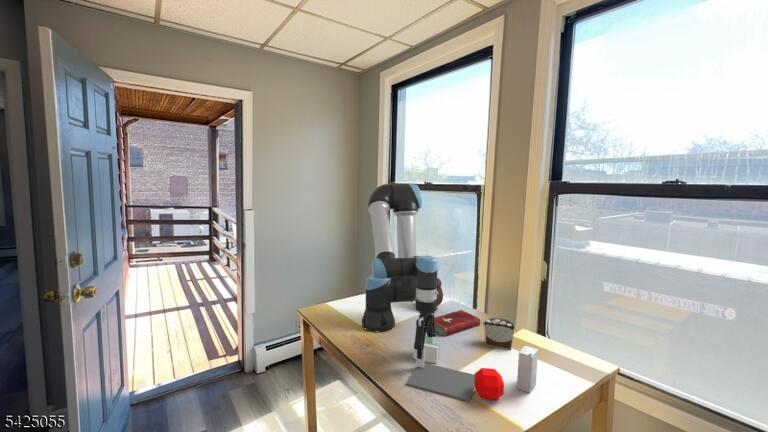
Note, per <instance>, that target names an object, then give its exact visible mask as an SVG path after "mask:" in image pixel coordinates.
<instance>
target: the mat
mask: <svg viewBox="0 0 768 432" xmlns="http://www.w3.org/2000/svg"><path fill="white" fill-rule="evenodd" d="M474 378H475V373H470V372H466V371H461V370H457V369H453V368H448V367H444V366H441V365H440V366H439V365H437V364H436V365H435V364H432V363H431V364H430V363H428V362H427V363H426V362H424V368H421V367H417V366H416V368H415V370H413V372H412V374H411V375H410V377H409V379H407V381H406V384H405V385H406V386H409V387H411V388H412V387H414V388H416V389H419V390H424V391H427V392H431V393H435V394H438V395H442V396H446V397H449V398H453V399H457V400H460V401H465V402H469V403H470V401H471V400H472V396H473V393H474V389H475V385H474Z"/></svg>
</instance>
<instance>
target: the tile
mask: <svg viewBox="0 0 768 432" xmlns="http://www.w3.org/2000/svg"><path fill="white" fill-rule="evenodd" d="M414 345H415V341H413V346H414ZM424 349H425V357H424V362H427V363H431V364H432V363H433V364H436V365H437V364H438V363H439V362H440V345H439V344H436V343H433V344H431V343H426V341H425V343H424ZM416 351H417V349H414V348H413V359H415V360H416Z"/></svg>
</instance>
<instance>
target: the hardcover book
mask: <svg viewBox="0 0 768 432" xmlns="http://www.w3.org/2000/svg"><path fill="white" fill-rule="evenodd" d="M434 319H435V332H437V333H439V334H441V335H442V336H444V337H449V336H453V335H455V334H458V333H461V332H464V331H467V330H471V329H474V328H477V327H480V326H481V323H482V321H481V317H479V316H476V315H474V314H472V313H469V312H467V311H466V310H463V309H460V310H457V311H452V312H449V313H445V314H441V315H438V316H434Z"/></svg>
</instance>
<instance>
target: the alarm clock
mask: <svg viewBox="0 0 768 432" xmlns="http://www.w3.org/2000/svg"><path fill="white" fill-rule="evenodd" d="M442 285H443V284H442V281H441V279H440V278H439V277H437V292H438V294H437V299H436V301H437V310H439V308H438V306H440V305H441V304H442V303H443V299H444V292H443V288H442Z"/></svg>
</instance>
